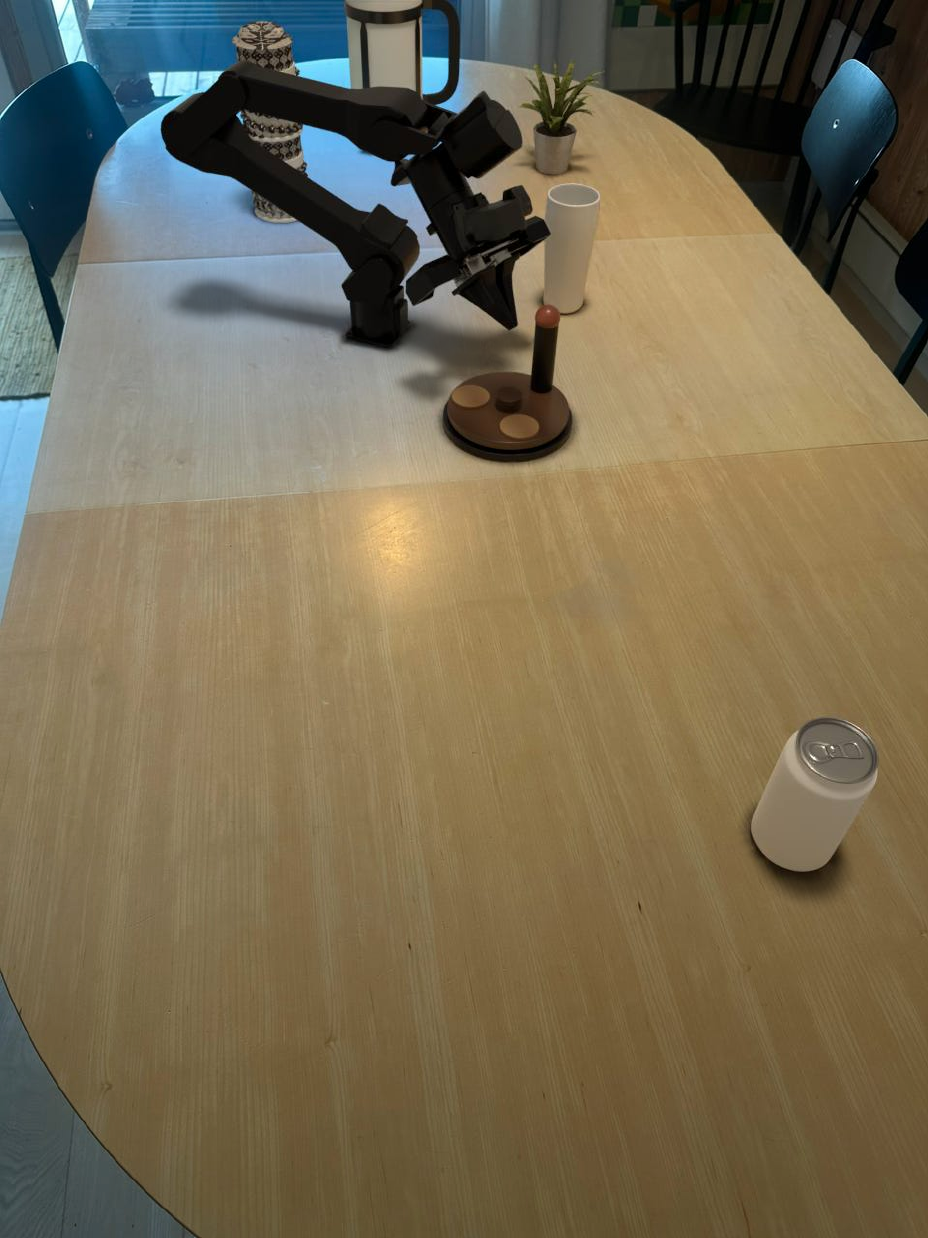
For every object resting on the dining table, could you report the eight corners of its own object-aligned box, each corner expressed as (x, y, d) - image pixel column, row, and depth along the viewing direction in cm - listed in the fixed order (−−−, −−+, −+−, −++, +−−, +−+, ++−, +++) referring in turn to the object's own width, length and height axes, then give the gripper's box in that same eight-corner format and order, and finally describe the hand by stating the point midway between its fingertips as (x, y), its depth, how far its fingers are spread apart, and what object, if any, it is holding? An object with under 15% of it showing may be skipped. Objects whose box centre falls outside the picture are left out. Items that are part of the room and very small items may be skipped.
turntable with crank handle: (508, 466, 105) (514, 375, 97) (422, 410, 112) (421, 320, 103) (593, 415, 112) (606, 326, 103) (507, 365, 118) (512, 277, 110)
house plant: (600, 190, 156) (614, 80, 144) (514, 188, 156) (521, 77, 144) (593, 154, 165) (606, 48, 153) (512, 152, 165) (519, 45, 153)
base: (422, 443, 110) (422, 435, 109) (470, 374, 119) (470, 367, 119) (548, 475, 106) (549, 468, 105) (587, 402, 116) (588, 395, 115)
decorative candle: (325, 206, 150) (310, 24, 131) (287, 229, 144) (265, 42, 126) (279, 192, 153) (258, 11, 135) (240, 213, 148) (212, 28, 129)
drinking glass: (584, 320, 128) (598, 208, 117) (534, 314, 129) (543, 202, 118) (590, 295, 133) (604, 185, 122) (541, 289, 134) (550, 179, 123)
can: (739, 804, 78) (778, 714, 69) (817, 799, 79) (865, 709, 70) (763, 877, 74) (807, 791, 65) (845, 871, 74) (900, 785, 65)
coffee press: (403, 164, 161) (398, -50, 139) (327, 142, 167) (311, -68, 145) (460, 131, 171) (464, -73, 149) (387, 111, 177) (380, -89, 155)
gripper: (420, 191, 98) (493, 332, 101) (546, 142, 107) (609, 273, 110) (374, 239, 107) (441, 366, 110) (492, 191, 116) (552, 310, 119)
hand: (513, 328), depth 112 cm, fingers closed
